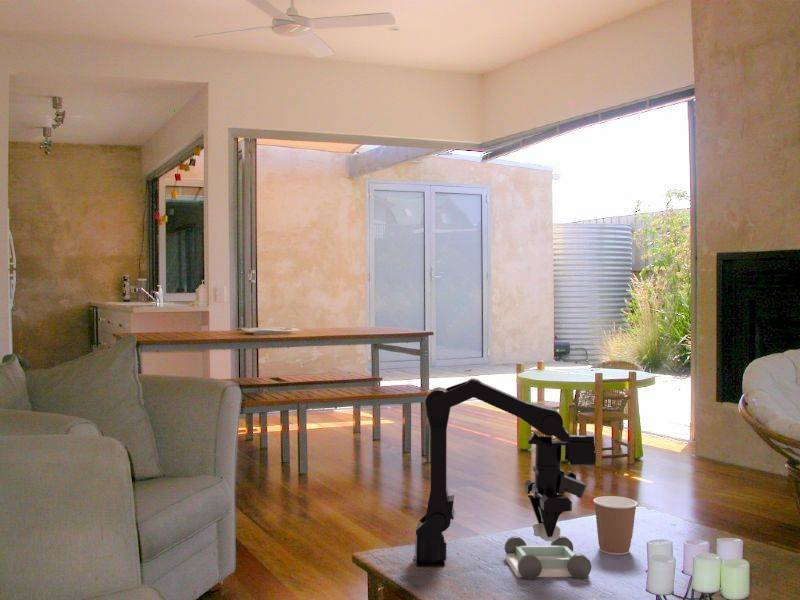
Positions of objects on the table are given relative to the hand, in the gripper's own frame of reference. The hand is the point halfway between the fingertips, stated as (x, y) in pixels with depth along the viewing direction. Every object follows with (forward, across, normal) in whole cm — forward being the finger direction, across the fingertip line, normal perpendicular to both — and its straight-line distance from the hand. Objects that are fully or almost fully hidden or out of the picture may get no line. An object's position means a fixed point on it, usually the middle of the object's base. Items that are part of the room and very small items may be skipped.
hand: (546, 532), depth 192 cm
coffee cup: (+8, +12, -20) cm, 25 cm away
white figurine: (+2, 0, 0) cm, 2 cm away
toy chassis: (+8, 0, 0) cm, 8 cm away
